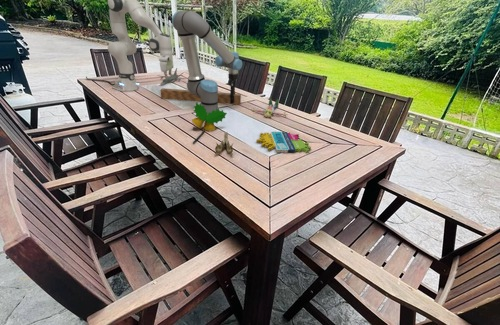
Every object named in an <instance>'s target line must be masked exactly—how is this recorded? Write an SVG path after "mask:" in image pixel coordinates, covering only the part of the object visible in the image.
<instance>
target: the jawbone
mask: <svg viewBox="0 0 500 325" xmlns="http://www.w3.org/2000/svg"><path fill="white" fill-rule="evenodd" d="M223 135H224V136H223V140H222V139H221V142H220V144H218V142H215V144H216V146H215V148H214V149H215V152H214V154H215V155H217V156H218V155H220V153H221V152H223V151H224V150H226V152H227V153H228V155H229V156H233V155H234V154H233V153H234V148H233V144H234V143H230V140H228V139H229V138H228V137H229V136H228V135H229V133H228V131H226V132H224V134H223Z"/></svg>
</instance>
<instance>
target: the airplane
mask: <svg viewBox="0 0 500 325" xmlns="http://www.w3.org/2000/svg"><path fill="white" fill-rule="evenodd" d="M156 76H157V77H160V80H162V79H163V80H162V81H161V82H160V84H159V85H158V87H159V86H164V85H166V84H168V83H175V82H176V81H178V82H180V81H181V80H188V77H187V78H186V77H183V75H182V74H178V67H176V68H175V70H174V72H173V74H172V73H171V75H169V76H168V77H165V75H160V74H159V75H156Z"/></svg>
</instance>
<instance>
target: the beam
mask: <svg viewBox="0 0 500 325" xmlns="http://www.w3.org/2000/svg"><path fill="white" fill-rule="evenodd" d="M159 91H160V99H161V100H171V101H172V100H173V101H185V102H197V103H198V102H199V103H201V97H199V96H196V95H194V94H192V93H190V92H189V90H188V89H179V88H178V89H177V88H166V87H165V88H164V87H162V88H161V89H159ZM241 102H242V94H241V93H235V94H234V104H233V105H237V106H238V105H239V106H240V105H241ZM218 104H226V105H231V104H230V92H221V91H220V92H219V91H218Z"/></svg>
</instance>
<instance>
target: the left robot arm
mask: <svg viewBox="0 0 500 325" xmlns="http://www.w3.org/2000/svg"><path fill="white" fill-rule="evenodd" d="M106 2H107V4H106V5H107V6H108V8H109V12H108V13H109V22H110V27H111V32H112V34H113V35H114V36H116V37H117V39H118V41H112V42H110V43H108V45H107V51H108V53H109V54H110V55H111V57H113V58H114V59H115V61H116V64H117V67H118V71H119V72H117V76H118V77H117V78H116V79H115V80H114V83H112V82H110V81H109V80H105V79H96V78H94V79H93V78H88V76H85V78H86V80H89V81H99V82H100V81H102V82H106V83H108V84H110V85H112V87H111V88H112V89H114V90H117V91H118V92H133V91H138V90H139V86H138V85H139V83H137V80H136V78H135V77H136V76H135V72H134V66H133V63H132V61H131V60H129V59H128V57H127V56H131V55H134V54H136V53H137V50H138V48H137V47H138V46H137V45H136V43H135V42H134V41H132V39H131V37H130V35H129V32H128V29H127V22H126V14H127V15H129V16H130V18H131V19H132V21H133V22H134V23H135V24H136V25H138V26H139V27H143V28H145V29H147V30H149V31H151V32H152V33H153V34H154V36H155V37H151V38H150V39H149V40H148V48H149V49H150V50H151V51H152V52H154V53H155V52H156V53H157V52H159V57H158V61H159V68H160V71H161V73H163V76H165V77H169V76H170V75H171V74H172V72H173V70H172V69H174V59H173V51H172V46H173V45H172V39H171V36H170V35H169V34H167V33H164V32H163V31H162V30H161V28H160V27H159V25H158V24H157V23H156V22H155V20H153V19H152V17H150V16H149V15H148V13H147V12H146V11H145V9H144V7H143V6H142V4H141V3H140V2H139V0H106ZM165 77H164V78H165Z"/></svg>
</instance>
